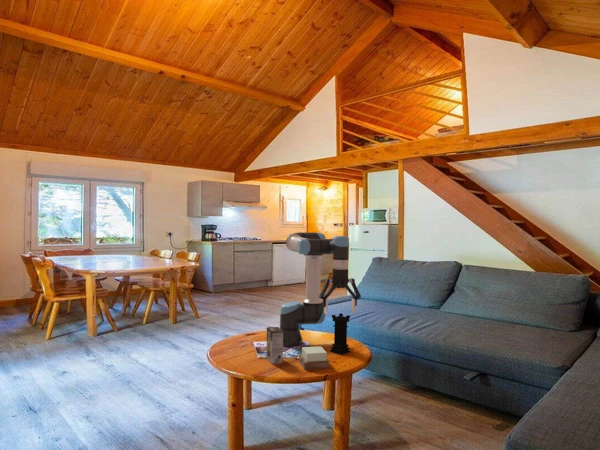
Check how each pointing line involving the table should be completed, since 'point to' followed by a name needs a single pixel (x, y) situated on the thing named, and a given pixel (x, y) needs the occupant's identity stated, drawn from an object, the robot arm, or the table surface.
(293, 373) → the table surface
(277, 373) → the table surface
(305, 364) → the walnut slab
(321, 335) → the table surface
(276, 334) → the coffee box
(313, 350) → the sage block
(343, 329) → the chess piece
